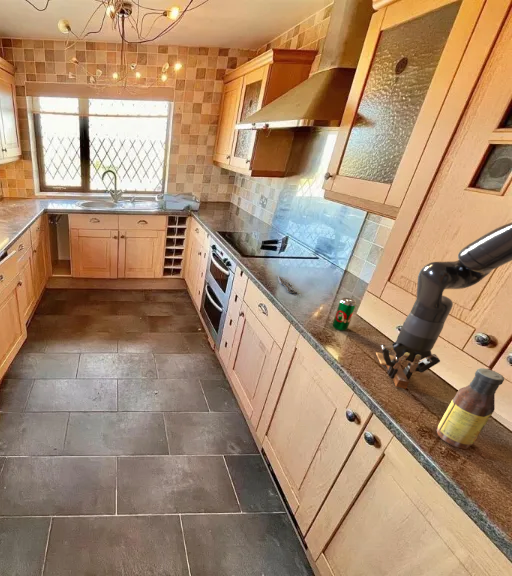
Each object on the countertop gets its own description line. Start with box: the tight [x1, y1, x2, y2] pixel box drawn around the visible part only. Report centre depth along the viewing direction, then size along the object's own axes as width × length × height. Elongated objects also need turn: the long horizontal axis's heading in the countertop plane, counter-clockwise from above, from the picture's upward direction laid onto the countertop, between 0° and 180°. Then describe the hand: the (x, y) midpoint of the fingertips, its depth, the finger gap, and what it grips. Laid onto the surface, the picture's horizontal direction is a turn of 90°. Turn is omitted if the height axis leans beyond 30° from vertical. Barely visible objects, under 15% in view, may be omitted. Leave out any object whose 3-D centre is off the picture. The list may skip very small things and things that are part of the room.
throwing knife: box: [277, 275, 297, 294], centre depth 152 cm, size 4×20×1 cm, turn 176°
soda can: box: [332, 297, 357, 332], centre depth 115 cm, size 5×5×12 cm
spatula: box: [375, 351, 410, 390], centre depth 95 cm, size 16×5×2 cm, turn 157°
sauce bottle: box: [436, 367, 505, 450], centre depth 70 cm, size 7×6×20 cm
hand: (397, 377), depth 92 cm, fingers closed on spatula, 2 cm apart
